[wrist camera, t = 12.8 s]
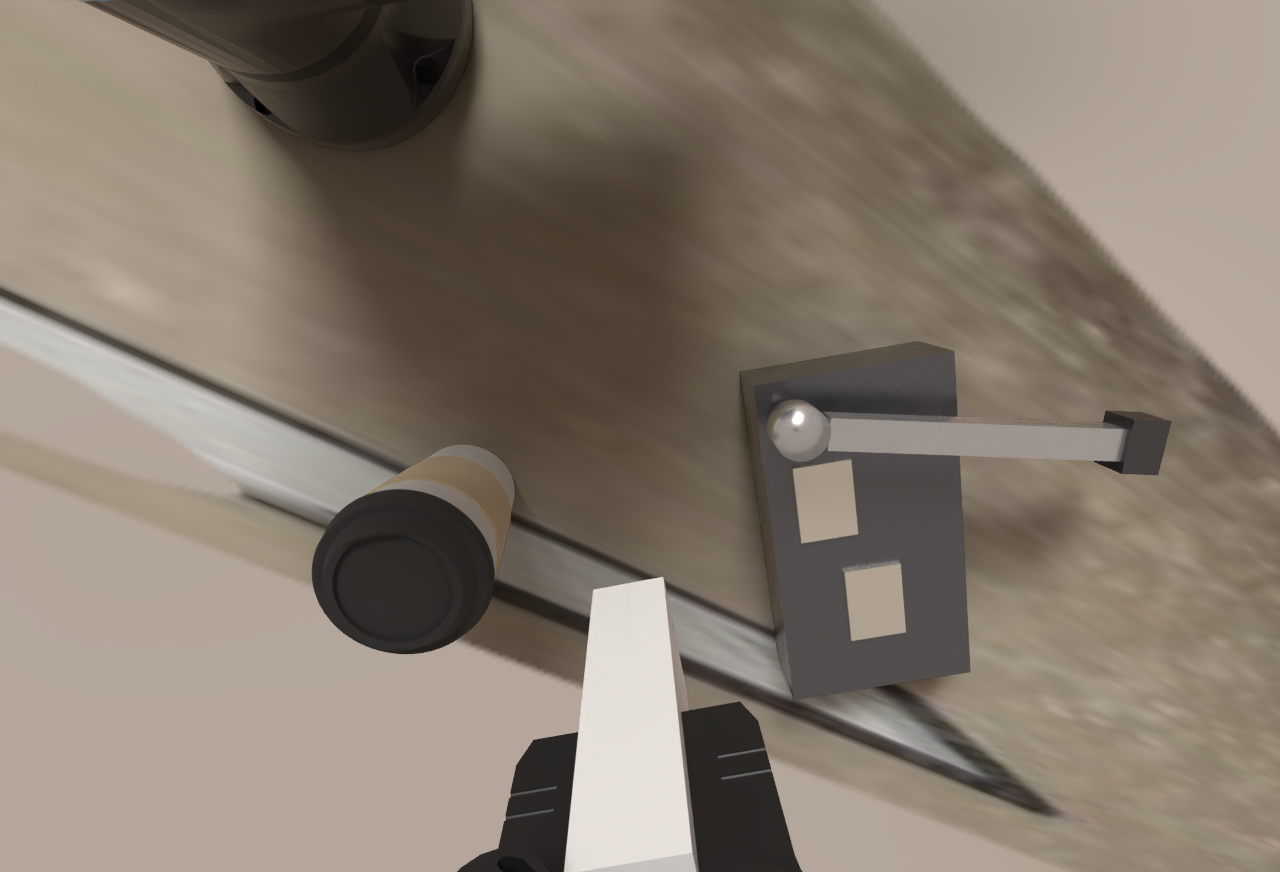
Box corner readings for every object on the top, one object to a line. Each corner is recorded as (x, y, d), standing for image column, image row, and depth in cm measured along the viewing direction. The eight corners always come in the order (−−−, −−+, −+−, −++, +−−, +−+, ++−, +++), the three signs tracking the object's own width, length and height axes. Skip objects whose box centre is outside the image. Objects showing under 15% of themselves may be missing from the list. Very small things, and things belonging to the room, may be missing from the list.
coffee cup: (543, 537, 47) (504, 660, 33) (420, 561, 48) (328, 693, 33) (512, 416, 45) (456, 490, 30) (383, 442, 45) (266, 527, 31)
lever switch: (739, 372, 44) (762, 395, 37) (918, 341, 44) (979, 357, 36) (778, 661, 50) (805, 733, 42) (937, 636, 50) (993, 704, 42)
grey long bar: (764, 449, 37) (772, 461, 35) (768, 397, 37) (777, 406, 35) (1128, 463, 38) (1158, 474, 36) (1140, 412, 37) (1171, 421, 35)
